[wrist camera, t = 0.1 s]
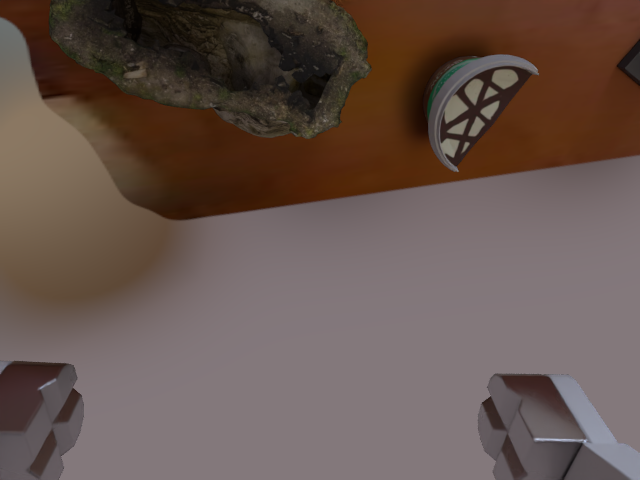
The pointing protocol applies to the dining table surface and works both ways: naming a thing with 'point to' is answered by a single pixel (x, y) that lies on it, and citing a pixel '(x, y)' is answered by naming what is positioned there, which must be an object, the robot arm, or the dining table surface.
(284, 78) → the hollow geode rock
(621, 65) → the black hanger
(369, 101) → the dining table surface
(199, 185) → the dining table surface
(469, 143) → the food container
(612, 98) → the dining table surface
